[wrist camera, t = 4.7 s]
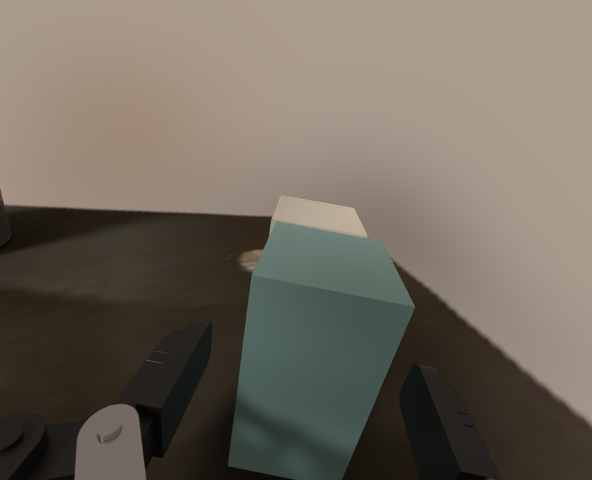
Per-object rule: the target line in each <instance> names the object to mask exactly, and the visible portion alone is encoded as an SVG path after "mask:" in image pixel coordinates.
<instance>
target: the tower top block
mask: <svg viewBox="0 0 592 480" xmlns="http://www.w3.org/2000/svg"><path fill="white" fill-rule="evenodd" d="M276 221H279V222H284V223H289V224H294V225H300V226H305V227H310V228H315V229H320V230H326V231H331V232H336V233H341V234H346V235H351V236H357V237H362V238H367V237H368V236H367V234H366V232H365V230H364V228H363V226H362V224H361V222H360V220H359V218H358V216H357V214H356V212H355V210H354V208H350V207H344V206H339V205H333V204H328V203H323V202H317V201H312V200H306V199H300V198H294V197H289V196H284V195H281V197H280V199H279V202H278V205H277V207H276V210H275V212H274V214H273V217H272V220H271V226H270V233H269V236H270V234H271V232H272V230H273V228H274V226H275V223H276Z"/></svg>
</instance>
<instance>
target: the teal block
mask: <svg viewBox="0 0 592 480" xmlns="http://www.w3.org/2000/svg"><path fill="white" fill-rule="evenodd" d="M414 308H415V306H414V304H413V302H412V300H411V298H410V296H409V294H408V292H407V290H406V288H405V286H404V284H403V282H402V280H401V278H400V276H399V274H398V272H397V270H396V268H395V266H394V264H393V262H392V260H391V258H390V256H389V254H388V252H387V251H386V249H385V247H384V245H383V243H382V241H377V240H372V239H367V238H362V237H357V236H351V235H346V234H341V233H336V232H331V231H326V230H320V229H315V228H310V227H305V226H300V225H294V224H289V223H284V222H279V221H276V223H275V226H274V228H273V230H272V232H271V234H270V236H269V239H268V241H267V243H266V245H265V247H264V249H263V252H262V254H261V256H260V258H259V260H258V262H257V265H256V267H255V269H254V271H253V273H252V277H251V285H250V293H249V301H248V309H247V317H246V325H245V333H244V341H243V349H242V357H241V365H240V373H239V381H238V389H237V397H236V405H235V413H234V421H233V429H232V437H231V445H230V453H229V461H228V466H230V467H235V468H240V469H245V470H250V471H255V472H260V473H265V474H270V475H275V476H280V477H285V478H289V479H294V480H342V478H343V476H344V473H345V471H346V469H347V466H348V464H349V462H350V459H351V457H352V455H353V452H354V450H355V448H356V445H357V443H358V440H359V438H360V436H361V433H362V431H363V429H364V426H365V424H366V422H367V419H368V417H369V415H370V412H371V410H372V407H373V405H374V403H375V400H376V398H377V396H378V393H379V391H380V389H381V386H382V384H383V382H384V379H385V377H386V374H387V372H388V370H389V367H390V365H391V363H392V360H393V358H394V356H395V353H396V351H397V348H398V346H399V344H400V341H401V339H402V337H403V334H404V332H405V330H406V327H407V325H408V323H409V320H410V318H411V315H412V313H413V311H414Z"/></svg>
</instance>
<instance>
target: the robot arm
mask: <svg viewBox="0 0 592 480" xmlns="http://www.w3.org/2000/svg"><path fill="white" fill-rule="evenodd" d="M1 194H2V193H1V190H0V246H2V245H4V244H5V243H6V242H7V241H9V239H10V238H11V236H12V234H11V229H10V225H9V221H8V217H7V214H6V210H5V206H4V202H3V198H2V195H1ZM211 339H212V322H208V321H203V320H198V319H192V320H191V321H190V322H189V324H188V325H187V327H186V328H185V330H184V331H181V330H176V329H175V330H173V331H172V332H171V333H169V334H168V335H166V336H165V337H163V338H162V340H161V341H160V342H159V344H158V345H157V346H156V348H155V349H154V352H152V353H151V354H150V356H149V357H148V358H147V361H145V362H144V364H143V365H142V367H141V368H140V369H139V371H138V372H137V373H136V375H135V376H134V377H133V379H132V380H131V381H130V383H129V384H128V385H127V387H126V388H125V389H124V391H123V392H122V394H121V395H120V396H119V398H118V399H117V400H116V401H115V402H114V403H113V404H112V405H111V406H108V407H106V408H103V409H102V410H100V411H98V412H97V413H95V414H94V415H93V416H91V417H90V418H89V419H87V420H83V421H78V422H71V423H63V424H55V425H48V426H46V425H45V422H44V420H43V418H42V417H40V416H39V415H36V414H20V415H16V416H13V417H10V418H8V419H5V420H3V421H1V422H0V480H146V475H145V470H146V468H147V466H148V464H149V462H150V460H151V458H152V456H155V457H160V458H163V457H164V455H165V453H166V451H167V448H168V446H169V444H170V442H171V440H172V438H173V436H174V434H175V432H176V429H177V427H178V425H179V423H180V421H181V419H182V417H183V415H184V413H185V411H186V408H187V406H188V404H189V402H190V400H191V398H192V396H193V394H194V392H195V390H196V387H197V385H198V383H199V381H200V379H201V377H202V375H203V373H204V371H205V368H206V366H207V364H208V361H209V357H210V352H211ZM399 401H400V408H401V412H402V416H403V419H404V423H405V427H406V430H407V434H408V438H409V441H410V445H411V449H412V452H413V456H414V460H415V463H416V467H417V471H418V474H419V478H420V480H502V479H501V477H500V475H499V473H498V471H497V469H496V467H495V465H494V463H493V461H492V459H491V457H490V455H489V453H488V451H487V449H486V447H485V445H484V443H483V441H482V439H481V437H480V435H479V433H478V431H477V429H475V425H474V423H473V421H472V419H471V417H469V416H468V414H469V413H468V411H467V409H466V407H465V405H464V404H463V402H462V400H461V398H460V397H459V396H458V395H457V393H456V392H455V391H454V390H453V389H452V388H451V386H450V385H446V384H444V382H443V380H442V378H441V376H440V374H439V372H438V370H437V369H436V368H435V367H430V366H425V365H420V364H413V366H412V367H411V369H410V371H409V373H408V376H407V378H406V380H405V382H404V384H403V386H402V388H401V391H400V398H399Z"/></svg>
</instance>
